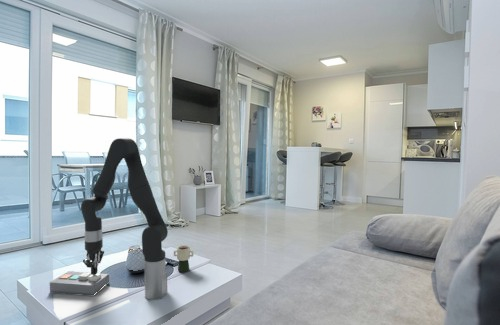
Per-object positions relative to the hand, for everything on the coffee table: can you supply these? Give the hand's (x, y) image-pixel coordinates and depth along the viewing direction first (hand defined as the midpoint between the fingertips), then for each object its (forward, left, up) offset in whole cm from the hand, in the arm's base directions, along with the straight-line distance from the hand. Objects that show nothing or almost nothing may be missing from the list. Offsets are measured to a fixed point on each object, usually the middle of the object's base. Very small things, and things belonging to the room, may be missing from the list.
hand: (94, 274), depth 140 cm
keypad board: (+7, 0, -7) cm, 10 cm away
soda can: (-7, -25, -8) cm, 27 cm away
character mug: (-35, -26, -8) cm, 44 cm away
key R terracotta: (+15, 0, -6) cm, 16 cm away
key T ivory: (0, 0, -4) cm, 5 cm away
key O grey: (+5, 0, -5) cm, 7 cm away
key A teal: (+10, 0, -6) cm, 12 cm away
